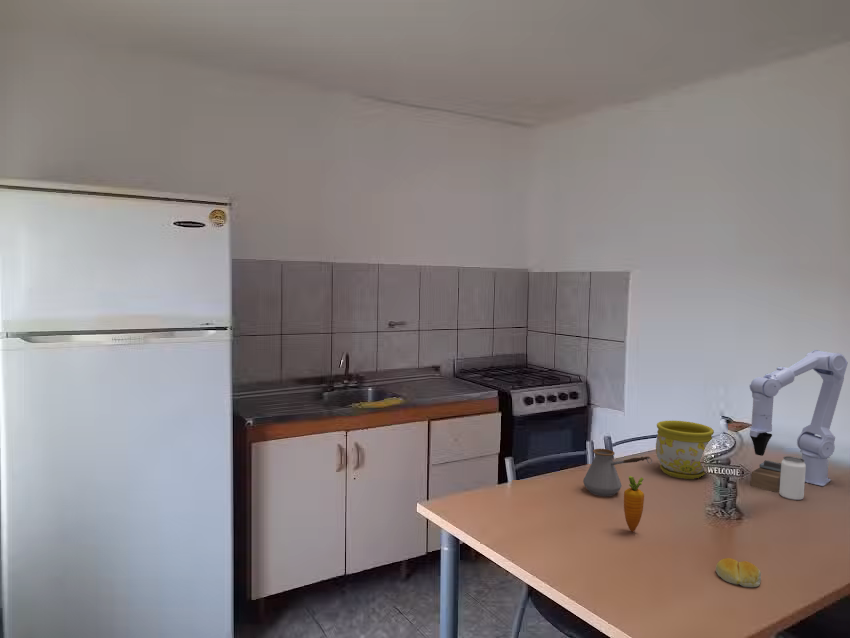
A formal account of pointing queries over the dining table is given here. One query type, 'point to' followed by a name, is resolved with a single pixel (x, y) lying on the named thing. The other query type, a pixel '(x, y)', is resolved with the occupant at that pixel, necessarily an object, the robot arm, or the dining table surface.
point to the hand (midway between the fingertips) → (759, 454)
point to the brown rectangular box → (766, 479)
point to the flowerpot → (682, 447)
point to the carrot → (633, 504)
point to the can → (792, 478)
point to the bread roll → (739, 572)
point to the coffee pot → (605, 473)
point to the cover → (771, 465)
